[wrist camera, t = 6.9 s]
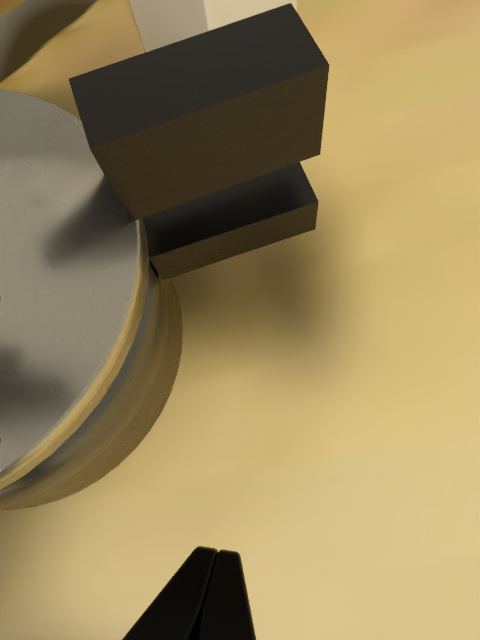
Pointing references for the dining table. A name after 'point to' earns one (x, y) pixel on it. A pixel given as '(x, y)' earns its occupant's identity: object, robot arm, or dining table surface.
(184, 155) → the cooker lid
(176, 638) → the robot arm
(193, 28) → the milk carton
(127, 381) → the cooker pot
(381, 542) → the dining table surface
